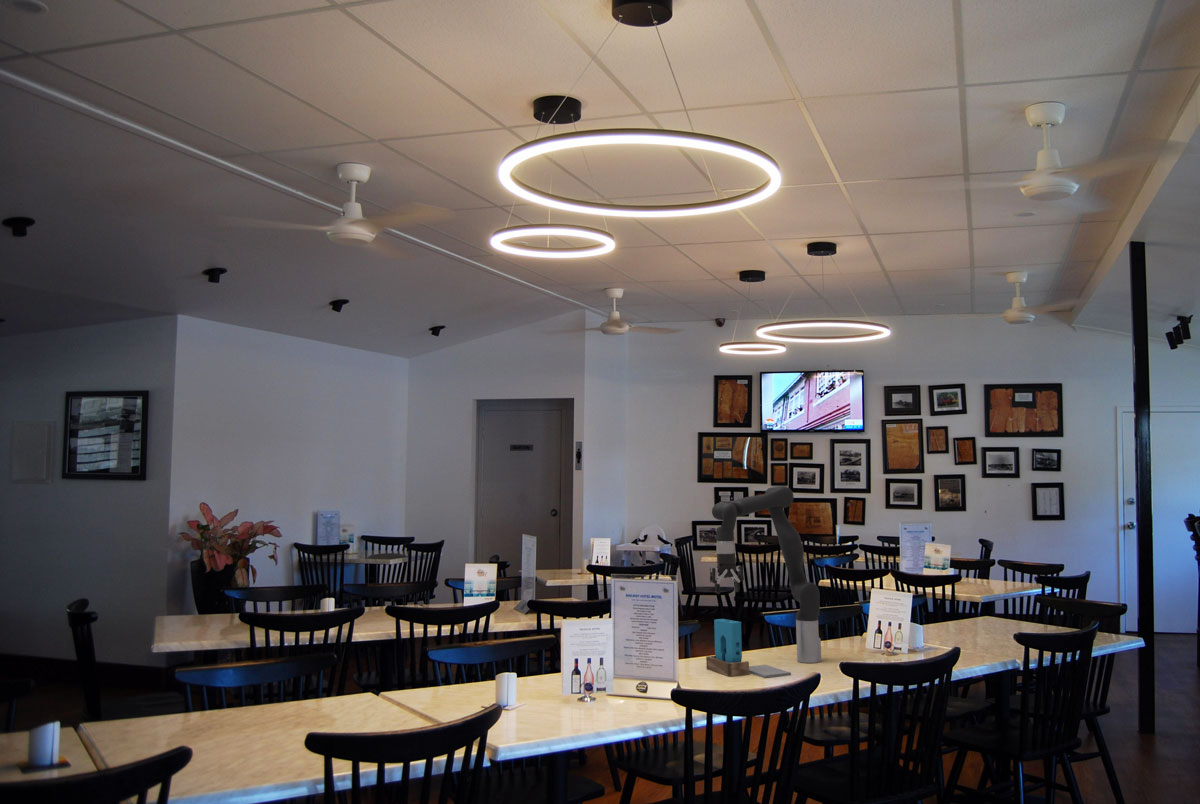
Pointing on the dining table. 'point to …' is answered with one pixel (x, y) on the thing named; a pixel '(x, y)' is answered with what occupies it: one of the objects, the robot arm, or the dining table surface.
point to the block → (728, 640)
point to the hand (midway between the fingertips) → (727, 592)
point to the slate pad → (767, 671)
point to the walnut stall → (727, 667)
